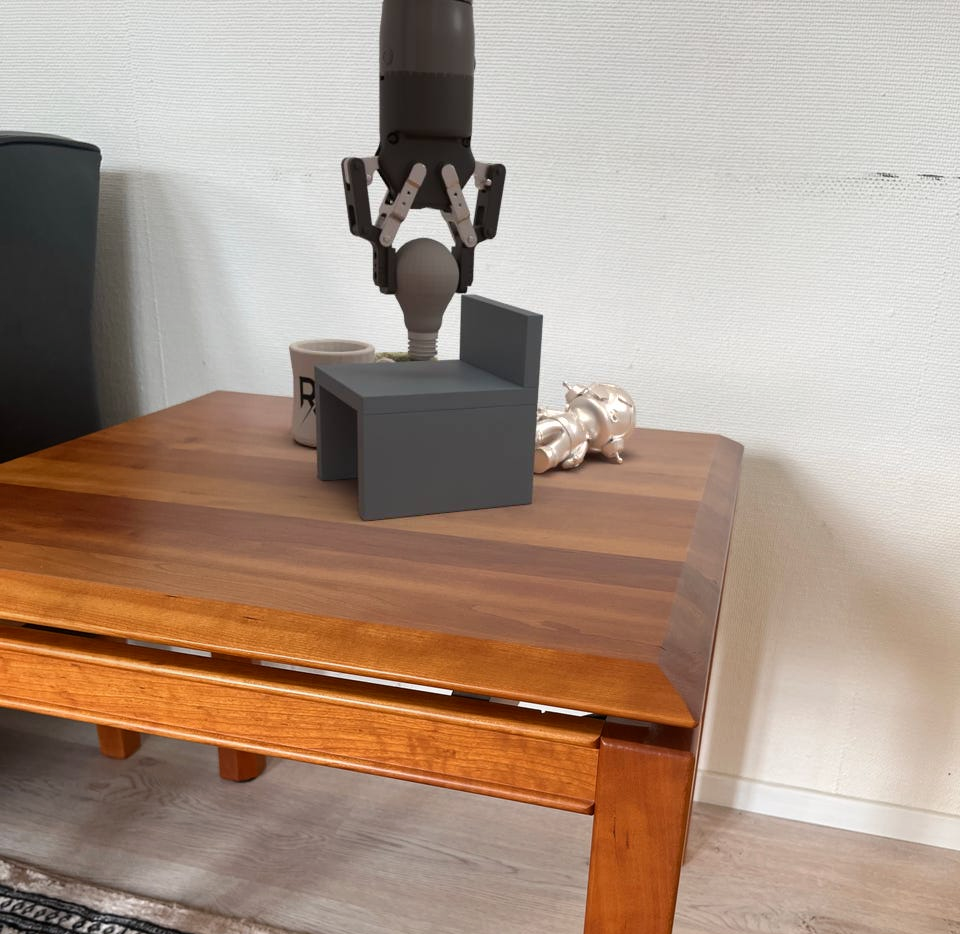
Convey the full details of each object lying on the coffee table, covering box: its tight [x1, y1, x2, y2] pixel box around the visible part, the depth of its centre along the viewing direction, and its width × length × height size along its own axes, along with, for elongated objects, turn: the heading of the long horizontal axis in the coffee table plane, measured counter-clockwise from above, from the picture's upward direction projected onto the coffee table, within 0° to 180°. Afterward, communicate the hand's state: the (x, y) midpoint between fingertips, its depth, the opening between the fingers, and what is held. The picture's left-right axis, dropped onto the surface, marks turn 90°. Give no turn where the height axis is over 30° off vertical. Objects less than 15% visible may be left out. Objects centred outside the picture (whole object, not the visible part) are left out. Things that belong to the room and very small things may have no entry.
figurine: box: [534, 380, 638, 474], centre depth 105 cm, size 11×7×15 cm
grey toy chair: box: [314, 293, 544, 522], centre depth 92 cm, size 16×14×16 cm
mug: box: [288, 338, 395, 448], centre depth 108 cm, size 12×9×10 cm
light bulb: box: [393, 237, 459, 360], centre depth 88 cm, size 6×6×10 cm
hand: (423, 292), depth 88 cm, fingers closed on light bulb, 6 cm apart
